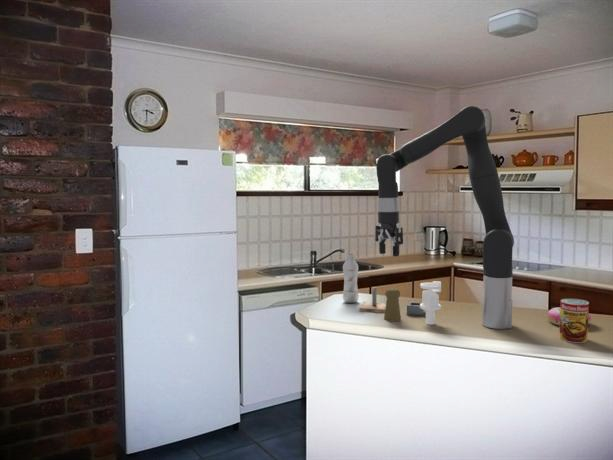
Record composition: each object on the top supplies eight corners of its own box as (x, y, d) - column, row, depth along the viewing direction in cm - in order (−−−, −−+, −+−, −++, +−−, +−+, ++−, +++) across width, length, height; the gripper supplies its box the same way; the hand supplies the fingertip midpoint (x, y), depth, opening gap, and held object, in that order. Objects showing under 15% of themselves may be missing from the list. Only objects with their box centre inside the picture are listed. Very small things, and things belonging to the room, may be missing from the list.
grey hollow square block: (424, 311, 201) (424, 302, 201) (423, 315, 195) (423, 306, 195) (408, 310, 203) (408, 301, 202) (406, 314, 197) (406, 305, 197)
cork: (400, 321, 188) (401, 290, 187) (383, 320, 189) (383, 290, 188) (401, 317, 194) (401, 287, 193) (384, 316, 195) (384, 286, 194)
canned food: (560, 341, 164) (561, 303, 162) (558, 334, 171) (559, 297, 170) (588, 344, 161) (590, 305, 160) (585, 336, 168) (587, 299, 167)
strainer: (439, 327, 180) (440, 283, 179) (418, 325, 183) (418, 282, 181) (441, 321, 187) (442, 279, 185) (421, 320, 189) (421, 278, 188)
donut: (589, 321, 186) (590, 307, 186) (591, 331, 175) (591, 316, 174) (547, 317, 192) (548, 303, 192) (546, 326, 180) (546, 312, 180)
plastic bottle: (361, 301, 218) (361, 253, 216) (353, 305, 212) (353, 255, 210) (347, 300, 222) (347, 252, 220) (339, 303, 216) (339, 254, 214)
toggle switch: (388, 306, 210) (389, 286, 209) (385, 312, 200) (385, 291, 199) (363, 305, 212) (363, 284, 212) (359, 311, 203) (359, 289, 202)
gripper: (408, 210, 187) (409, 256, 188) (386, 209, 199) (386, 252, 201) (391, 211, 183) (391, 258, 185) (369, 210, 196) (369, 253, 198)
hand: (389, 254), depth 193 cm, fingers open, 8 cm apart
